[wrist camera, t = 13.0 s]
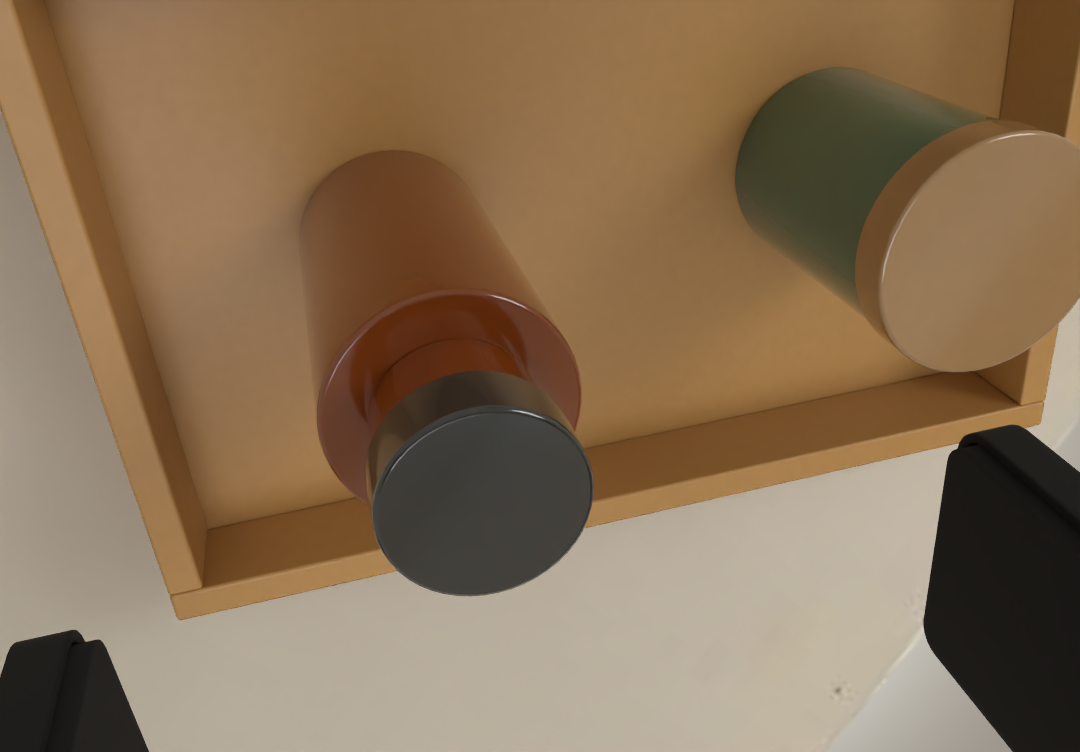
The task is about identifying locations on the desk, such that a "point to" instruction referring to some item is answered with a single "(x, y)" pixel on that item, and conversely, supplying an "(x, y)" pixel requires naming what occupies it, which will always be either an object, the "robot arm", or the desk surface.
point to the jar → (918, 213)
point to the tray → (515, 211)
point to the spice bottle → (440, 378)
